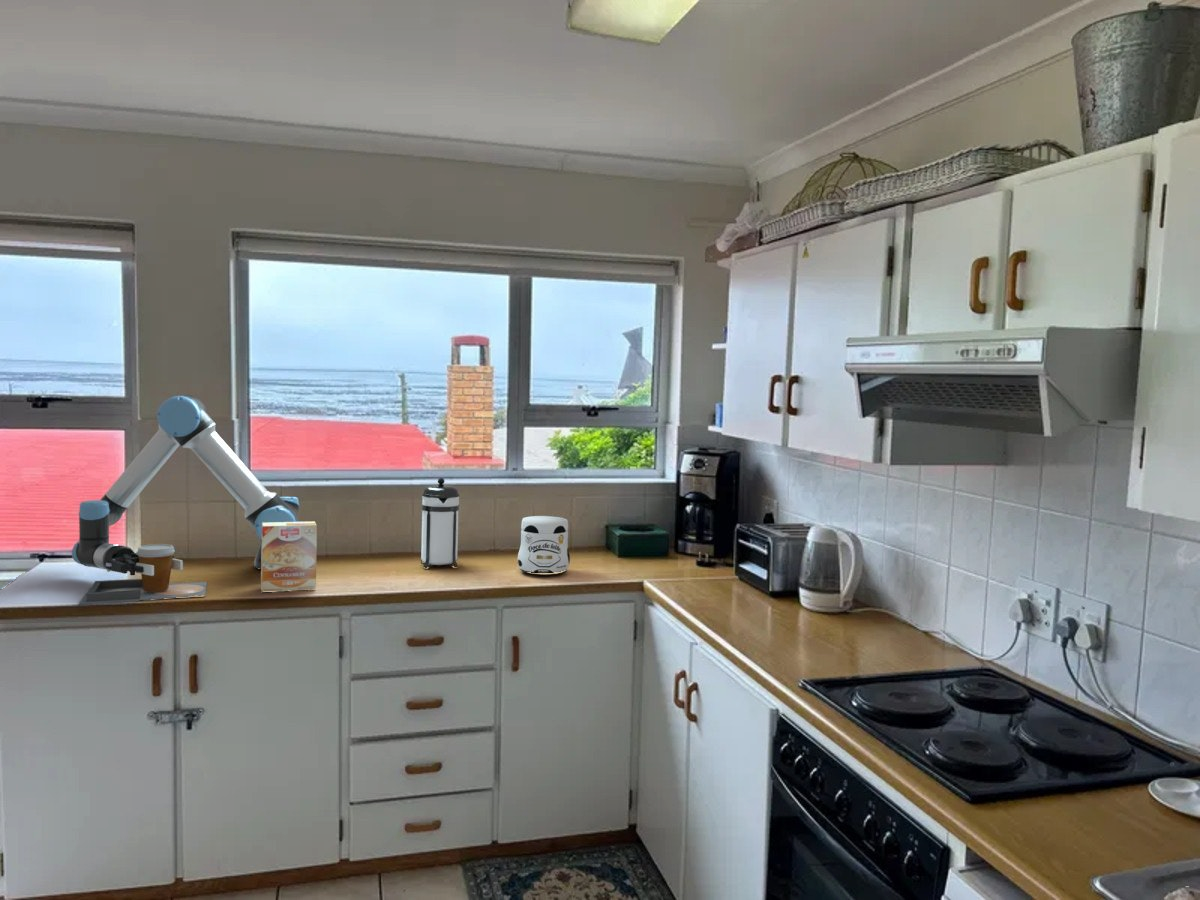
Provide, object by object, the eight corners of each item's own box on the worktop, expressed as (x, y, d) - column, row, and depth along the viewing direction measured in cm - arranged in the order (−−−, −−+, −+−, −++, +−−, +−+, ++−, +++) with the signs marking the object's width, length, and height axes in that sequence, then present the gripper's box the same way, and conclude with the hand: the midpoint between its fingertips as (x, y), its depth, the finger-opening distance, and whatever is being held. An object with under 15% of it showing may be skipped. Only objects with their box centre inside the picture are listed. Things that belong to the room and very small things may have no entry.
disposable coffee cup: (158, 594, 233) (158, 551, 232) (128, 591, 234) (128, 548, 234) (182, 586, 242) (182, 545, 241) (153, 584, 244) (153, 542, 243)
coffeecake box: (261, 593, 242) (261, 525, 241) (260, 588, 248) (261, 522, 247) (316, 590, 248) (317, 524, 247) (314, 585, 255) (315, 520, 253)
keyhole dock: (206, 583, 251) (206, 575, 251) (205, 597, 235) (205, 588, 235) (89, 590, 239) (89, 580, 239) (79, 604, 223) (79, 594, 223)
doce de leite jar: (538, 580, 271) (540, 525, 269) (506, 571, 284) (508, 517, 282) (579, 574, 282) (581, 521, 281) (547, 565, 295) (549, 514, 294)
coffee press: (472, 565, 291) (474, 478, 289) (440, 572, 277) (442, 481, 275) (435, 558, 300) (437, 473, 298) (402, 565, 287) (403, 476, 285)
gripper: (148, 564, 255) (200, 574, 245) (79, 577, 237) (131, 588, 226) (148, 540, 255) (200, 549, 245) (79, 550, 236) (131, 560, 226)
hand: (167, 567), depth 236 cm, fingers closed on disposable coffee cup, 8 cm apart
